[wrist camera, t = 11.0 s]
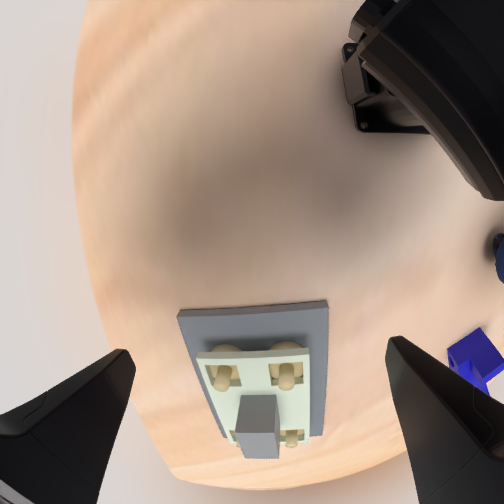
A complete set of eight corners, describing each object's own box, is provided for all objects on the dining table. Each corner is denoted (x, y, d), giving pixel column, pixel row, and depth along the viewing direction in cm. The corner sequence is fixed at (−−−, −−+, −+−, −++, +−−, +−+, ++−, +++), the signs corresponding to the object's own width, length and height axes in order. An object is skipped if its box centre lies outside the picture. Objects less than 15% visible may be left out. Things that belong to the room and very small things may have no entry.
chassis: (326, 300, 21) (335, 336, 17) (321, 429, 27) (323, 459, 23) (180, 310, 22) (161, 343, 18) (224, 431, 29) (218, 460, 25)
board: (308, 347, 20) (313, 395, 15) (308, 437, 24) (310, 473, 20) (198, 352, 21) (181, 396, 16) (231, 438, 26) (225, 473, 21)
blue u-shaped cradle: (446, 347, 22) (469, 386, 16) (478, 326, 21) (505, 361, 15) (451, 399, 25) (465, 431, 20) (477, 382, 24) (494, 412, 18)
